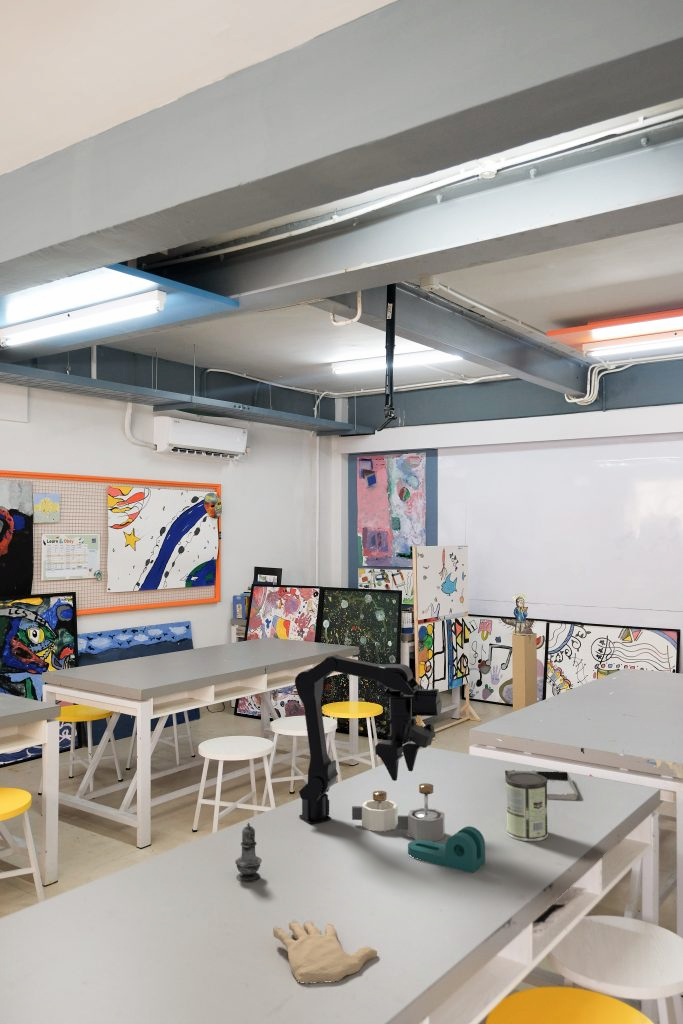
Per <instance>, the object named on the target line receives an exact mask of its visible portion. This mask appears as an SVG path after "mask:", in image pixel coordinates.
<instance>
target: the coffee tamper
mask: <svg viewBox="0 0 683 1024" xmlns="http://www.w3.org/2000/svg"><path fill="white" fill-rule="evenodd" d="M418 793H420V794H422V795H424V797H423V798H424V799H423V801H424V805H423V806H424V807H423V808H424V811H418V812H416V813H415V817H416V818H418V819H429V820H431V819H435V818H437V813H435V812H432V811H428V808H429V795H432V794H433V793H434V785H433V784H432V783H429V782H428V783H425V782H424V783H420V784H419V785H418Z"/></svg>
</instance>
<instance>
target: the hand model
mask: <svg viewBox="0 0 683 1024" xmlns="http://www.w3.org/2000/svg"><path fill="white" fill-rule="evenodd" d="M288 929H289V931H291V932H292V934H293V936H294V938H295V940H294V939H293V938H292V937H291V936H289V934H287V933H286V932H285V930H284V929H283V928H281V927H280V926H279V925H274V926H273V927H272V932H273V933H272V935H273V937H274V938H276V939H277V940H278V941H280V942H281V943H282V945H283V946H285V948H286V950H287V954H288V956H287V957H288V962H289V967H290V970H291V972H292V974H293V976H294V978H295V979H296V981H297V980H298V981H299V982H304V983H311V982H325V981H331V982H334V983H336V982H335V981H338V982H339V981H341V980H342V979H343V978H344V977H346V976H349V975H350V976H351V975H353V974H356V973H358V972H359V971H360V970H361V969H362V967H363V966H364V964H365V963H367V961H369V960H373V959H376V957H377V956H378V950H376V949H374V948H372V947H371V946H367V945H366V946H363V947H361V948H359V949H358V950H357V951H356V952H354V953H352V954H350V953H347V952H346V951H345V950H344V949H343V947H342V946H341V944H340V942H339V941H338V933H337V930H336V929H335V927H334V924H332V923H328V924H326V926H325V934H324V935H323V934H322V932H321V930H320V929H319V928H318V927H316V926H315V924H314V923H313V921H311V920H309V919H308V920H307V919H306V920H305V921H304V922H303V926H302V925H301V924H300V923H299V921H298V920H296V919H294V918H292V919H290V920H289V922H288ZM298 981H297V982H298ZM299 982H298V983H299ZM331 982H330V983H331ZM325 983H326V982H325ZM311 984H312V983H311Z"/></svg>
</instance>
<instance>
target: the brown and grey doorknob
mask: <svg viewBox="0 0 683 1024" xmlns="http://www.w3.org/2000/svg"><path fill="white" fill-rule="evenodd" d="M387 795H388V793H387V792H386V791H384V790H375V791H374V790H373V792H372V800H375V801H378V810H381V801H385V800H388V799H387Z"/></svg>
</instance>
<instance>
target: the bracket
mask: <svg viewBox="0 0 683 1024" xmlns="http://www.w3.org/2000/svg"><path fill="white" fill-rule="evenodd" d="M408 854H409V855H411V856H412V857H414V858H418V859H421V860H420V861H422V860H424V861H423V862H426V861H428V862H427V863H430V862H431V863H430V864H435V865H439V866H442V867H443V866H444V867H447V868H451V869H455V870H459V871H463V872H466V873H471V874H474V873H475V872H476V871H477V870H478V869H480V868H481V867H483V865H484V864H486V842H485V837H484V835H483V834H482V833H481V831H480V830H479V829H477V828H476V827H473V826H469V825H468V826H465V827H463V828H461V829H460V830H458V831H457V832H456V833H454V834H453V835H451V836H450V837H449V838H448V839H447V840H446V842H445V844H443V843H440V842H437V841H433V842H431V841H427V840H411V841H410V842H408V843H407V855H408ZM409 855H408V856H409ZM412 857H411V858H412ZM414 858H413V859H414ZM418 859H417V860H418Z"/></svg>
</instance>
